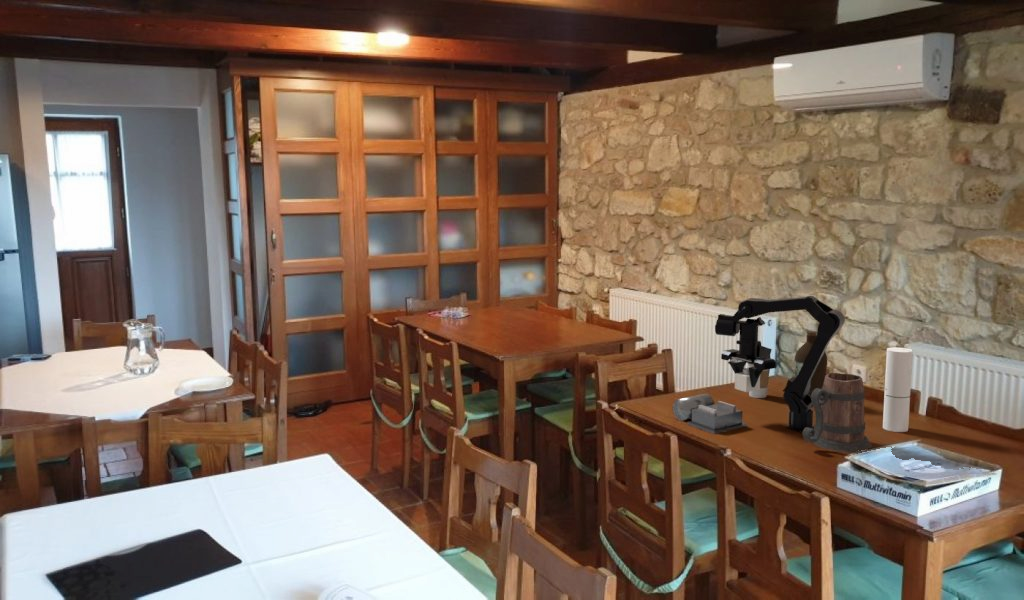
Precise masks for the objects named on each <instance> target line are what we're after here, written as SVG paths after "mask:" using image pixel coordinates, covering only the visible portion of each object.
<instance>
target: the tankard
mask: <svg viewBox="0 0 1024 600" xmlns="http://www.w3.org/2000/svg"><path fill="white" fill-rule="evenodd" d="M863 382H864V381H863V378H862V377H861V376H859V375H857V374H856V375H855V374H852V373H840V372H839V373H838V372H829V373H826V375H825V379H824V383H823V387H822V388H821V389H819V388H816V389H814V390H813V392H812V395H811V400H812V404H813V407H812V408H813V410H814V414H815V421H814V426H813V427H814V429H812V428H809V427H806V428H805V429H804V430H803V432H802V437H803V439H804V441H805V442H809V443H812V444H813V445H814V446H817V447H819V448H823V449H825V450H830V451H837V452H843V453H844V452H845V453H851V452H852V453H856V452H855V451H858V450H859V451H858V452H862V451H861V450H865V449H867V448H870V449H871V448H872V447H871V444H872V443H871V442H870V441H869V438H868V436H866V435H865V430H866V422H865V398H866V390H865V388H864V383H863ZM865 451H866V450H865Z"/></svg>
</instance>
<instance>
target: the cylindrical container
mask: <svg viewBox="0 0 1024 600" xmlns="http://www.w3.org/2000/svg"><path fill="white" fill-rule="evenodd" d="M913 354H914V353H913V350H912V349H911V348H906V347H900V346H899V347H894V346H892V347H887V348H886V355H885V358H886V359H885V360H886V361H885V378H884V396H883V398H884V399H883V415H882V416H883V417H882V429H883V430H885V431H888V432H889V431H890V432H894V433H905V432H908V430H909V421H910V407H911V405H910V401H911V387H912V384H911V383H912V369H913V368H912V367H913Z"/></svg>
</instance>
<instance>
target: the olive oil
mask: <svg viewBox="0 0 1024 600" xmlns="http://www.w3.org/2000/svg"><path fill="white" fill-rule="evenodd" d="M806 333H807V334H806V341H805V343H803V344H802V345H801V346H800V347H799V348H798V349H797V350H796V352H795V355H794V377H797V376H798V374H799V371H800V369H801V367H802V365H803V363H804V361H805V359H806V357H807V355H808V353H809V351H810V349H811V347H812V345H813V343H814V341H815V339H816V336H817V330H807V331H806ZM827 365H828V355H827V353H826V351H825V352H824V354H823V356H822V358H821V360H820V362H819V364H818V366H817V368H816V370H815V372H814V374H813V376H812V378H811V381H810V388H809V391H808V395H809V396H810V397H811V395H812V392H813V390H814V389H816V388H819V389H821V388H822V387H823V383H824V379H825V375H826V374H827V368H828V367H827Z"/></svg>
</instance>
